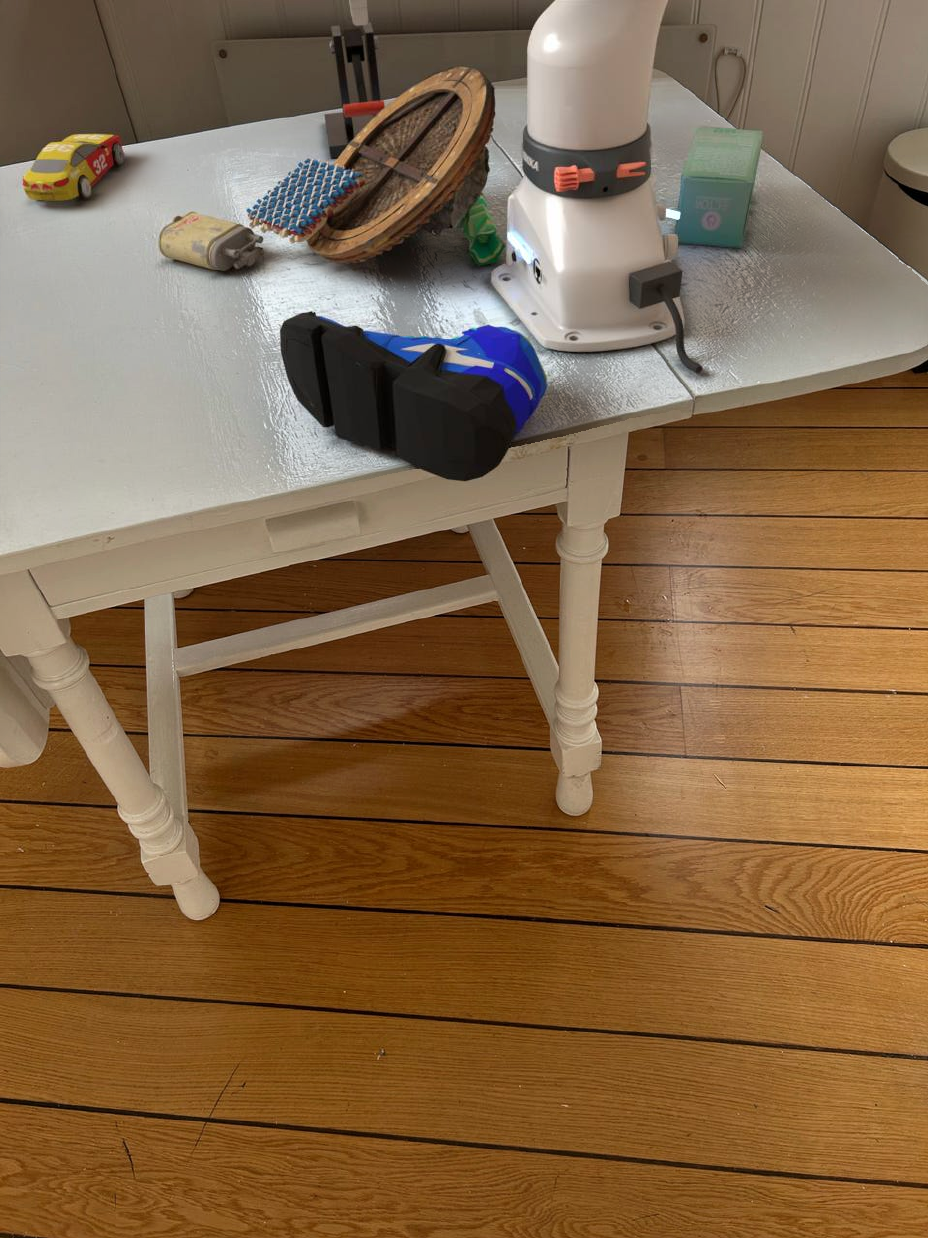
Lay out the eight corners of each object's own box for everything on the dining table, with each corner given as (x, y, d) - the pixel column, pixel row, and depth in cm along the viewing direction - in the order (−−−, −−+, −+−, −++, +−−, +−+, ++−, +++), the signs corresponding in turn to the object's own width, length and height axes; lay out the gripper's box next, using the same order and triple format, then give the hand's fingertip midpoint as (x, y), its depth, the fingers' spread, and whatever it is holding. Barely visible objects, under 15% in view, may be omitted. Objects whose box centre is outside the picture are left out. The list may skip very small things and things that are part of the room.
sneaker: (266, 409, 82) (375, 345, 91) (488, 503, 72) (585, 421, 81) (251, 308, 76) (369, 250, 85) (492, 397, 66) (597, 320, 75)
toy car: (133, 154, 126) (122, 115, 122) (78, 211, 114) (64, 170, 110) (80, 153, 127) (67, 113, 123) (20, 210, 115) (4, 168, 112)
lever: (385, 118, 116) (384, 103, 114) (345, 123, 116) (343, 107, 113) (372, 42, 119) (371, 26, 117) (333, 46, 119) (331, 30, 117)
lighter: (161, 262, 103) (232, 282, 100) (152, 228, 101) (224, 247, 97) (204, 236, 108) (273, 254, 104) (196, 203, 105) (267, 220, 101)
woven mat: (314, 168, 104) (306, 152, 103) (373, 185, 98) (365, 168, 96) (247, 228, 102) (238, 211, 100) (303, 249, 96) (294, 232, 94)
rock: (433, 279, 98) (516, 259, 101) (431, 177, 90) (521, 160, 93) (368, 217, 108) (445, 201, 111) (361, 122, 101) (444, 108, 104)
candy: (472, 178, 104) (492, 207, 107) (447, 197, 105) (467, 225, 108) (489, 223, 96) (510, 254, 99) (462, 244, 97) (484, 273, 100)
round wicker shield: (450, 71, 107) (300, 233, 112) (433, 47, 105) (281, 214, 110) (542, 110, 89) (359, 303, 93) (524, 83, 87) (338, 281, 91)
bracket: (406, 150, 122) (396, 38, 113) (330, 158, 121) (314, 47, 112) (397, 117, 130) (387, 11, 121) (325, 125, 129) (310, 19, 120)
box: (671, 245, 100) (680, 173, 95) (687, 192, 109) (696, 124, 103) (742, 251, 99) (755, 178, 93) (751, 197, 107) (764, 128, 102)
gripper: (380, -118, 91) (396, 44, 101) (364, -148, 105) (379, -4, 115) (315, -111, 90) (338, 51, 100) (308, -142, 104) (328, 2, 114)
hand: (360, 21), depth 108 cm, fingers closed
